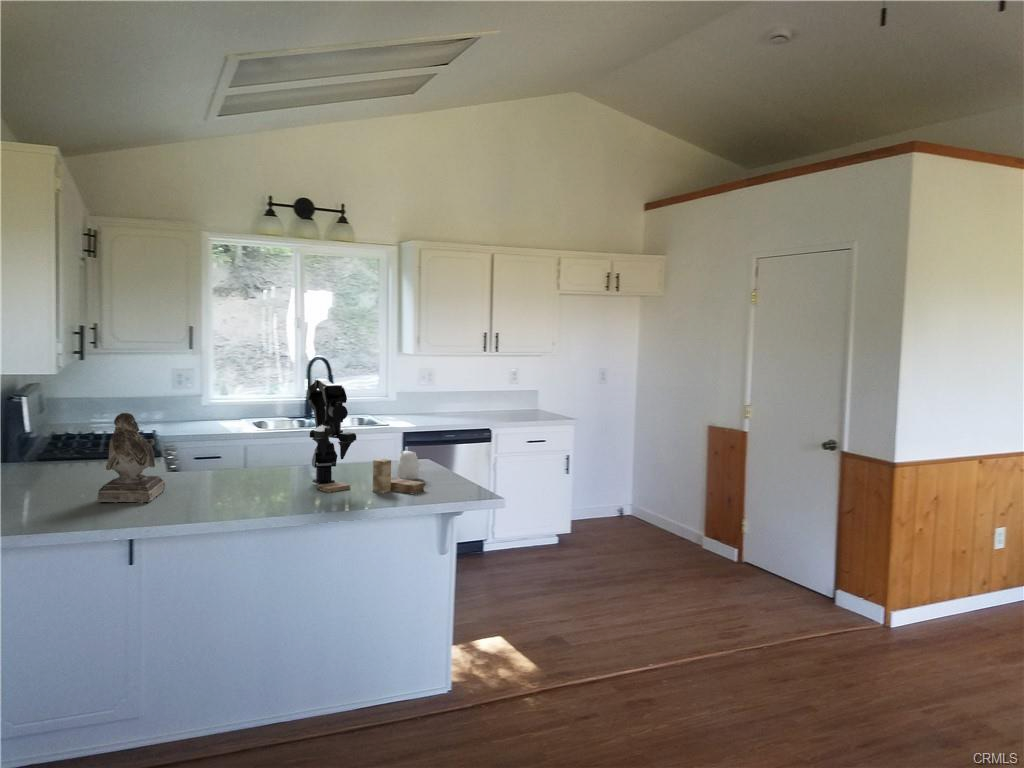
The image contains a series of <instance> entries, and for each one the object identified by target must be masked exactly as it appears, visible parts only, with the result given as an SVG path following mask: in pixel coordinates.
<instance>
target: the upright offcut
mask: <svg viewBox="0 0 1024 768" xmlns="http://www.w3.org/2000/svg"><path fill="white" fill-rule="evenodd" d="M391 477H392V460H391V459H387V458H386V459H385V458H376V459H373V460H372V492H373V491H374V492H375V493H379V492H381V493H380V494H386V493H389V492H392V491H391ZM388 491H389V492H388ZM385 492H386V493H385Z"/></svg>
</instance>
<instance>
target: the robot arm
mask: <svg viewBox="0 0 1024 768" xmlns="http://www.w3.org/2000/svg"><path fill="white" fill-rule="evenodd" d="M347 396H348V395H347V393H346V390H345V387H343V384H340V383H339V384H334V383H333V382H331V381H329V379H327V378H316V379H314V382H313V383H312V384H310V385H309V386H308V388H307V392H306V400H307V401H308V407H310V408H311V410H313V415H314V423H315V428H314V429H311V430H310V431H309V438H311V439H312V440H313V441H314V442H315V443H316V444H317V445H316V447H315V449H314V451H313V455H312V459H311V466H312V467H313V468H315V470H316V471H315V474H316V475H315V477H316V478H315V479H312V482H314V481H316V482H315V483H317V482H319V483H318V484H327V483H326V482H328V483H336V482H335V479H333V478H332V473H333V472H332V467H336V466H337V460H338V454H337V452H336V449H335V444H334V442H331V440H330V438H333V439H338V442H337V443H338V445H339V452H340V453H339V456H340V460H344V459H345V457H346V454H347V451H348V450H349V448H350V446H351V444H352V443H354V442H355V441H357V435H356V433H355V432H344V431H343V430H344V429H342V428H341V425H342V424H341V423H344V420H346V418H347V417H348V414H349V411H348V409H347V407H346V406H344V404H346V403H347V401H348V397H347Z"/></svg>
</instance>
